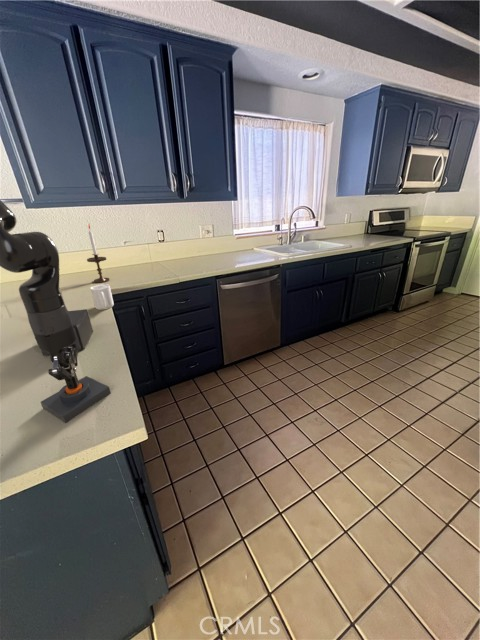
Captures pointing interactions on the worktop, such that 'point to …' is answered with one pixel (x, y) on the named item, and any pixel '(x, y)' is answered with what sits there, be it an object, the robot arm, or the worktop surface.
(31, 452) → the worktop surface
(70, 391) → the button
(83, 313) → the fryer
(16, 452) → the worktop surface
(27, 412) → the worktop surface
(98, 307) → the cup
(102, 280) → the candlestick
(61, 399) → the block
